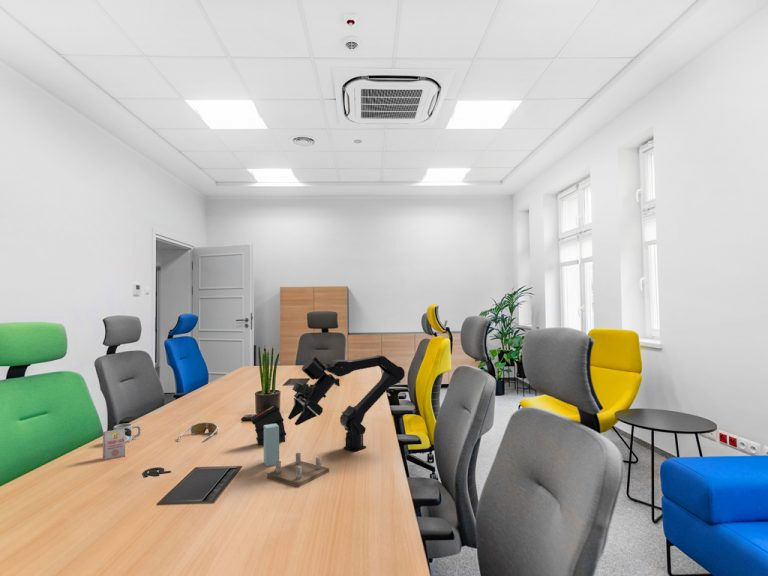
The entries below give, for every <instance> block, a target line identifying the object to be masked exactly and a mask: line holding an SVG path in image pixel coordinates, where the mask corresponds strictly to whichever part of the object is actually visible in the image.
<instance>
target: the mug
mask: <svg viewBox="0 0 768 576" xmlns="http://www.w3.org/2000/svg"><path fill="white" fill-rule="evenodd" d="M141 427H142V426H141V425H139V424H132V423H120V424H116V425H114V426H113V430H118V429H124V428H125V444H127V443H130V441H131V442H132V441H133V439H135V438H139V436H141V433H142V428H141ZM133 429H138V430H137V431H138V432H137V433H136V434H133Z"/></svg>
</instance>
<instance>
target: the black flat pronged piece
mask: <svg viewBox="0 0 768 576" xmlns="http://www.w3.org/2000/svg"><path fill="white" fill-rule="evenodd" d="M171 473H172V471H171V470H165V468H164V467H156V466H155V467H152V468H151V467H150V468H148V469H145V470H144V471H143V473H142V474H143V475H142V476H143V478H148V477H149V476H150V477H160V475H164V474H171Z"/></svg>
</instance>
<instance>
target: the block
mask: <svg viewBox="0 0 768 576" xmlns="http://www.w3.org/2000/svg"><path fill="white" fill-rule="evenodd" d="M276 461H280V442H279V426H278V425H277V424H269V425H264V445H263V463H264V465H265V466H266V467H271V466H276Z"/></svg>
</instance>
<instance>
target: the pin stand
mask: <svg viewBox="0 0 768 576" xmlns="http://www.w3.org/2000/svg"><path fill="white" fill-rule="evenodd" d="M301 458H302V457H301V452H295V461H294V462H291V463H289V464H287V465H284V466H282V461H281V460H279V461H276V465H275V469H274V470H273V471H271V472H268V473H267V474H266V477H267V479H269V480H273V481H277V482H281V483H285V484H288V485H290V486H295V487H298V488H300V487H302V486H304V485H306V484H308V483H309V482H312V481H314V480H315V479H317V478H319V477H321V476H323V475H325V474H327V473H329V472H330V467H327V466H323V465H322V458H321V457H315V464H314V463H310V462H306V461H303V460H302V459H301Z"/></svg>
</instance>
